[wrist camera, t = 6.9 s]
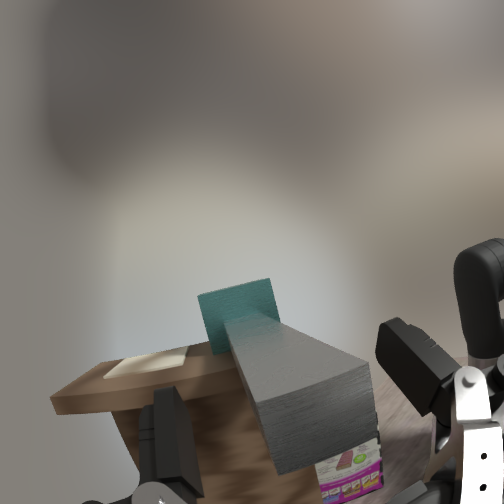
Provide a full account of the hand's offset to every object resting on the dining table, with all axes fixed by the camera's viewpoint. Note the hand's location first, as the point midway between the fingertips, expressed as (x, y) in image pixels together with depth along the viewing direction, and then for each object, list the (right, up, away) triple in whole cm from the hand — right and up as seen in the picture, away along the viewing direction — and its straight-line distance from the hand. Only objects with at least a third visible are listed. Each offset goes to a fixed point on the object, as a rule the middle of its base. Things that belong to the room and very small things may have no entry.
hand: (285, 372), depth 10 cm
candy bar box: (+14, -34, +22) cm, 42 cm away
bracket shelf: (0, -36, +10) cm, 37 cm away
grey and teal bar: (-1, -3, +8) cm, 8 cm away
